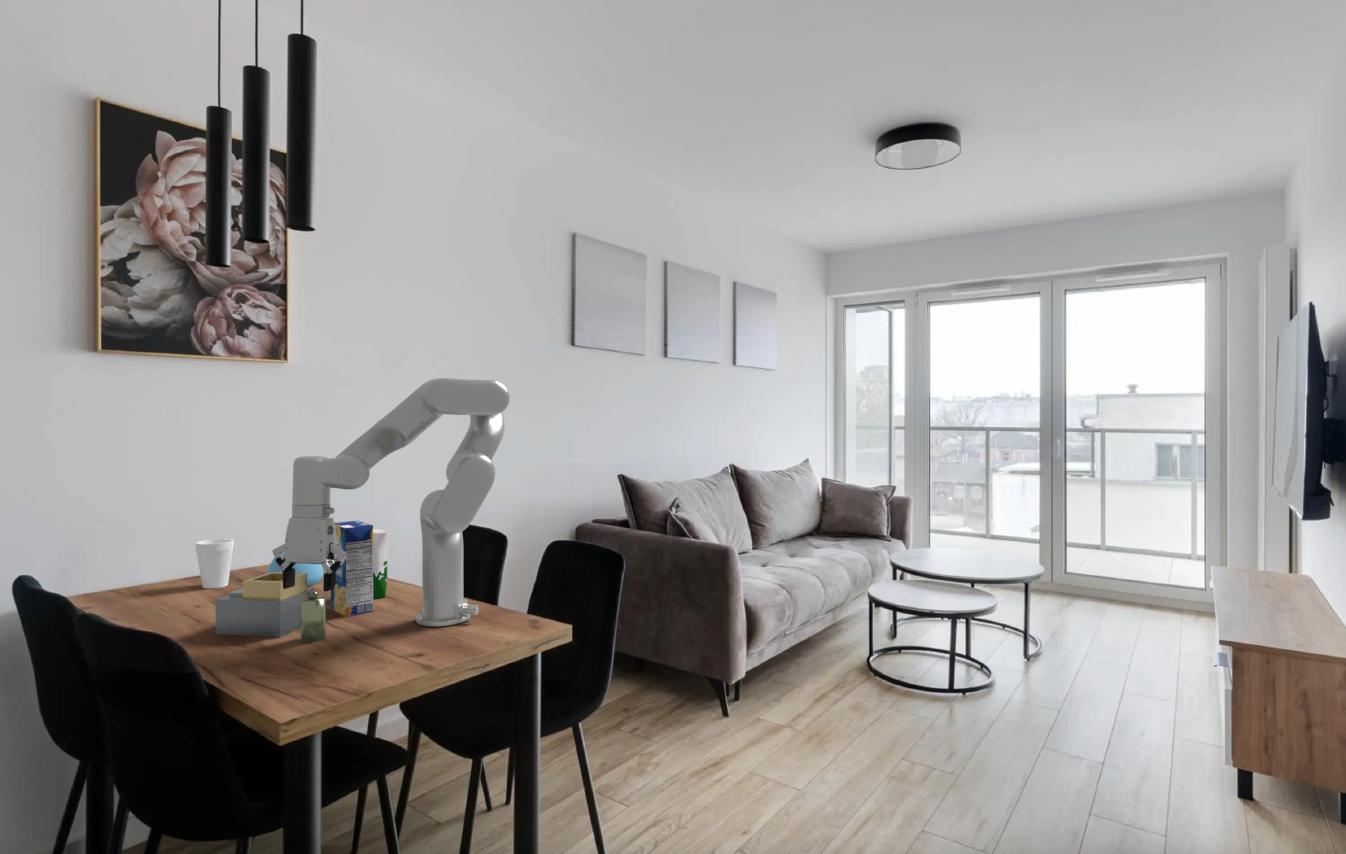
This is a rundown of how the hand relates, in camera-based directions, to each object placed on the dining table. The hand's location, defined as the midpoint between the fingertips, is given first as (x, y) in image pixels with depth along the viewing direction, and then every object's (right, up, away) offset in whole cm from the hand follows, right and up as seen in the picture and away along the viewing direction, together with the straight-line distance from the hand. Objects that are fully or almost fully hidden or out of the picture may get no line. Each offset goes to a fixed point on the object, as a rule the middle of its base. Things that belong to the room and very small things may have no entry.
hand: (308, 588), depth 158 cm
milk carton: (-3, -11, +37) cm, 39 cm away
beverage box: (-1, -11, +24) cm, 26 cm away
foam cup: (-52, -11, +49) cm, 73 cm away
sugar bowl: (-31, -11, +52) cm, 62 cm away
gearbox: (-14, -11, +9) cm, 20 cm away
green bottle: (+1, -11, +1) cm, 11 cm away
